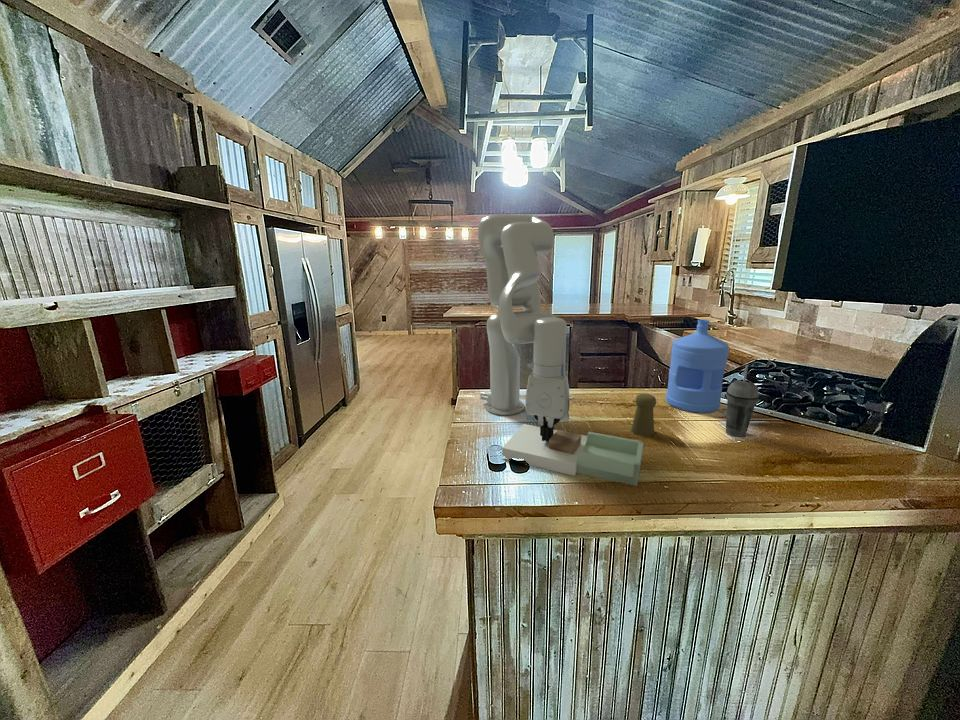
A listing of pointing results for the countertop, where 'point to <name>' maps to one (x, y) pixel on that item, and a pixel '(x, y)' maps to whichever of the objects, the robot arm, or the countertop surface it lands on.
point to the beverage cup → (740, 406)
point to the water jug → (697, 371)
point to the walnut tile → (565, 442)
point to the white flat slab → (541, 451)
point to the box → (611, 458)
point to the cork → (644, 415)
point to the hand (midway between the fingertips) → (546, 439)
